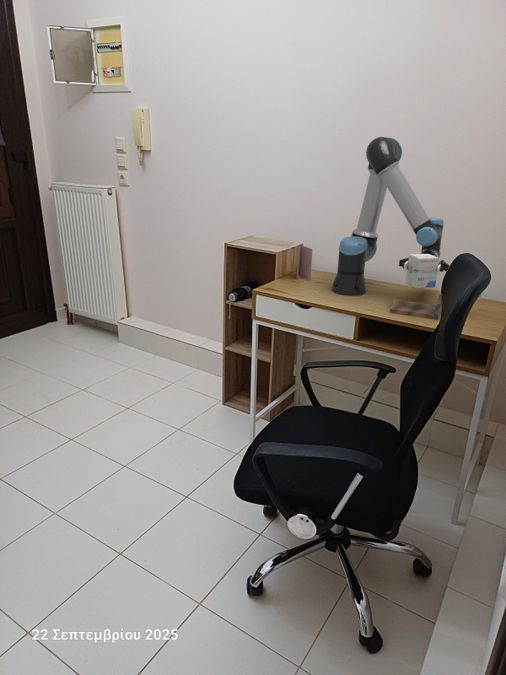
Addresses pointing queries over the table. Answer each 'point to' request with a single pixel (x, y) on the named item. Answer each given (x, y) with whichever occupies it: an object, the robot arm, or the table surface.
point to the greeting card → (304, 262)
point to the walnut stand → (417, 309)
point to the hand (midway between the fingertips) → (421, 269)
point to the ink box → (422, 270)
